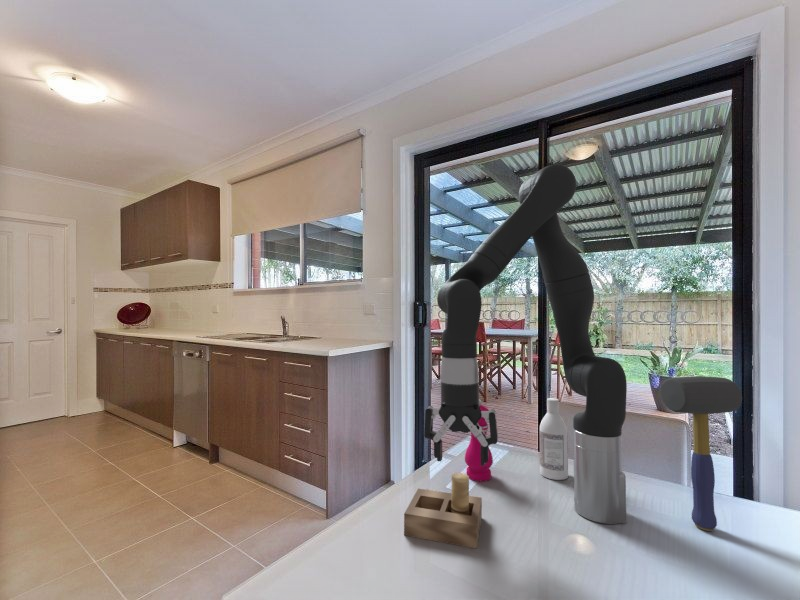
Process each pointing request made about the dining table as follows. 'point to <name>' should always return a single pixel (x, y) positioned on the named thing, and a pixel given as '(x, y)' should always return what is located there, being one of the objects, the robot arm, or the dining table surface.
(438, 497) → the board
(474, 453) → the pepper mill
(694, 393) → the rubber mallet
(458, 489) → the peg
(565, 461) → the bath foam
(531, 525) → the dining table surface
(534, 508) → the dining table surface
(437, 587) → the dining table surface
